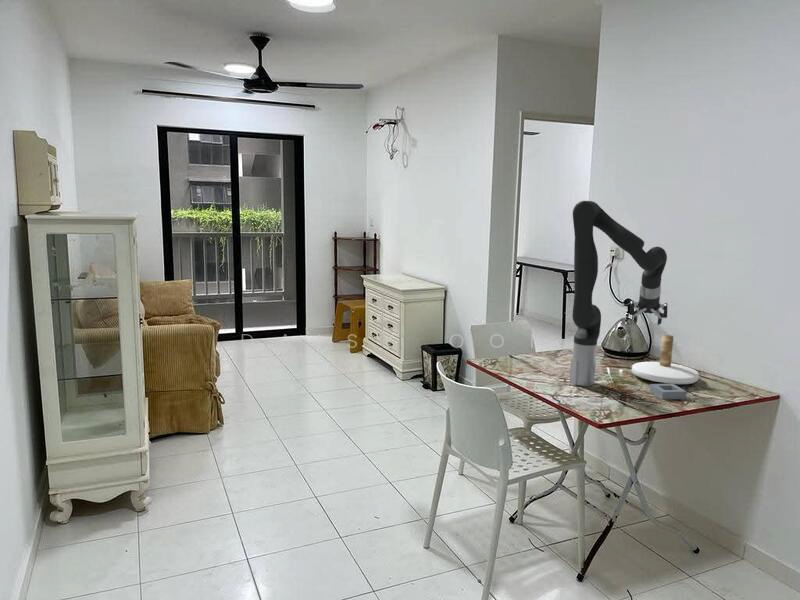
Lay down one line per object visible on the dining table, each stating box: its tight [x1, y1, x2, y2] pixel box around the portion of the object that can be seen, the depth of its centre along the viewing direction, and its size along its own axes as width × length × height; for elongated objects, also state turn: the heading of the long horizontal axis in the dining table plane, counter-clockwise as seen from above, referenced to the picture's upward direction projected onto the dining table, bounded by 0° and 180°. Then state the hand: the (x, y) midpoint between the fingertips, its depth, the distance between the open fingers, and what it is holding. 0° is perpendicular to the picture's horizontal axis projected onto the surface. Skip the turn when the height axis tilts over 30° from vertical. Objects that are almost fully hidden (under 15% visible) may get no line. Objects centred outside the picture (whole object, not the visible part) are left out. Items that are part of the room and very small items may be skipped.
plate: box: [631, 361, 700, 385], centre depth 250 cm, size 28×6×27 cm
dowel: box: [659, 334, 674, 367], centre depth 248 cm, size 4×4×13 cm
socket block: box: [649, 383, 687, 400], centre depth 228 cm, size 10×10×3 cm
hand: (647, 322), depth 240 cm, fingers open, 8 cm apart
